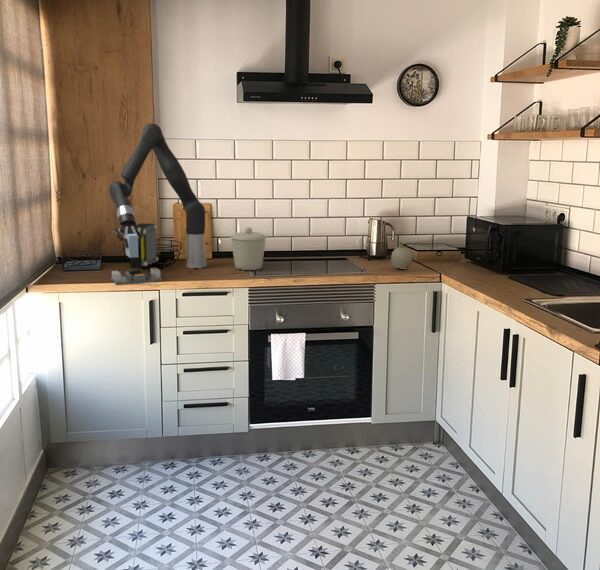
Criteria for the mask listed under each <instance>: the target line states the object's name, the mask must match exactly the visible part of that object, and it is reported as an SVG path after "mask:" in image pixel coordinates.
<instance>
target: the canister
mask: <svg viewBox="0 0 600 570" xmlns="http://www.w3.org/2000/svg"><path fill="white" fill-rule="evenodd" d="M229 238H230V239H231V246H232V255H233V261H234V266H235V268H236V269H237V270H239V269H241V270H240V271H244V270H253V271H258V270H260V269H261V268H262V266H263V263H264V262H263V261H264V254H265V246H266V239H267V238H268V236H267V235H265V234H263V233H261V232H258V231H257V232H254V231H253V228H252V227H250V226H248V227H245V229H244V231H241V232H239V231H238V232H235V233H233V234H232V235H230V237H229ZM257 269H258V270H257Z"/></svg>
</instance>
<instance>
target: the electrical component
mask: <svg viewBox="0 0 600 570" xmlns="http://www.w3.org/2000/svg"><path fill="white" fill-rule="evenodd" d="M136 225H137V226H138V228H141V227H143V228H144V230H143V235H142V240H139V242H140V245H139V247H138V257H133V258H130V257H129V266H130V267H129V268H130V269H140V268H139V267H142V266H146V267H148V266H149V265H148V264H150V265H152V263H153V264H154V263H155V264H156V263H157V262H159V256H157V244H156V243H157V241H156V239H157V238H156V236H157V235H156V232H157V231H158V225H156V224H155V223H144V222H141V223H138V224H137V223H136ZM137 235H138V236H140V233H139V231H138V230H137ZM147 265H148V266H147Z"/></svg>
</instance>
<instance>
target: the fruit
mask: <svg viewBox="0 0 600 570" xmlns="http://www.w3.org/2000/svg"><path fill="white" fill-rule="evenodd" d="M397 243H398V244H397V246H396V247H395V248H394V249H393V251H392V252H391V256H390V257H391V258H390V261H391V264H392V265H393V267H394V268H395V267H396V268H395V269H397V268H407V269H408V268H409V267H410V266H411V264H412V261H413V255H412V252H411V250H410V249H409V248H407V247H404V243H403V242H401V241H398V242H397ZM400 245H401V246H400Z"/></svg>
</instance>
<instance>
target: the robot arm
mask: <svg viewBox="0 0 600 570" xmlns="http://www.w3.org/2000/svg"><path fill="white" fill-rule="evenodd" d="M142 128H143V129H142V131H141V132H142V133H141V137H140V140H139V142H138V144H137V146H136V148H135V150H134V151H133V153H132V154H131V156H130V157H129V159H128V160H127V162H126V163H125V165H124V167H123V168H122V171H121V173H120V176H121V178H122V179H124V183H123V182H120V181H119V180H118V181H117V180H113V181H112V182H111V183H110V184H109V185H108V186H109V187H108V192H109V195H110V197H111V199H112V201H113V202H114V204H115V207H116V214H117V219H118V224H119V228H116V227H115V229H114V235H115V236H116V238H117V239H118V241H119V242H123V243H124V248H125V249H126V248H128V247H129V245H128V240H127V235H126V234H136V235H137V230H138V231H139V233H140V236H138V247H139V245H140V242H139V240H142V235H143V230H144V228H143V227H141V228H138V226H137V222H136V218H135V214H134V211H133V208H132V203H131V199H129V197H130V196H131V194H132V192H133V189H134V184H135V181H136V178H137V177H138V175H139V173H140V171H141V170H142V168H143V165H144V163H145V161H146V159H147V157H148V156H149V154H150V152H151V151H153V153H154V155H155V157H156V159H157V162H158V164H159V166H160V169H161V171H162V173H163V175H164V177H165V178H166V181H167V182H168V184H169V186H170V187H171V188H172V189H173V190H174V192H175V194H176V195H177V197H178V198H179V200H180V202H181V204H182V207H183V209H184V211H185V216H186V217H185V221H186V223H185V224H186V225H185V241H186V242H185V243H186V268H188V269H194V268H198V269H204V268H203V267H205V268H207V248H206V239H205V237H206V236H205V235H206V234H205V233H206V232H205V231H206V209H205V206H204V205H203V204H202V202H200V200H199V199H198V197H197V196H196V195H195V193H194V191H193V190H192V188H191V185H190V181H189V179H188V177H187V175H186V173H185V171H184V169H183V167H182V164H180V162H179V160H178V159H177V157H176V155H175V154H174V153H173V152H172V150H171V149H170V147H169V145H168V144H167V141H166V139H165V137H164V133H163V131H162V128H161V127H160V126H159V125H158V124H156V123H153V122H152V123H147V124H146V125H144V127H142ZM121 233H122V234H123V235H122V234H121ZM194 270H195V269H194Z"/></svg>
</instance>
